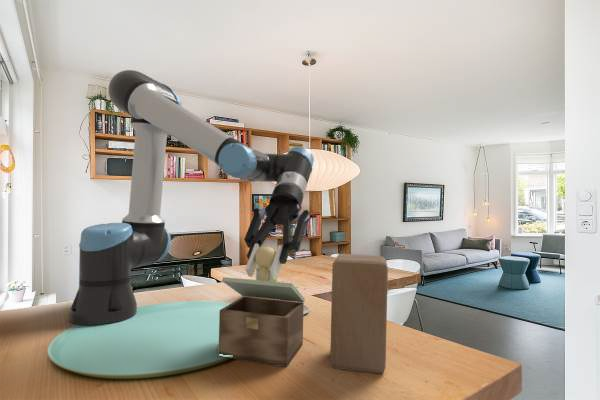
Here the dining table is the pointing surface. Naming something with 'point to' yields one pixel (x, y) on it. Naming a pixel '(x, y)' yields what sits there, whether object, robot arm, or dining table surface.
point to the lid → (264, 281)
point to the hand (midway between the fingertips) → (261, 273)
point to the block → (359, 313)
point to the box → (261, 330)
